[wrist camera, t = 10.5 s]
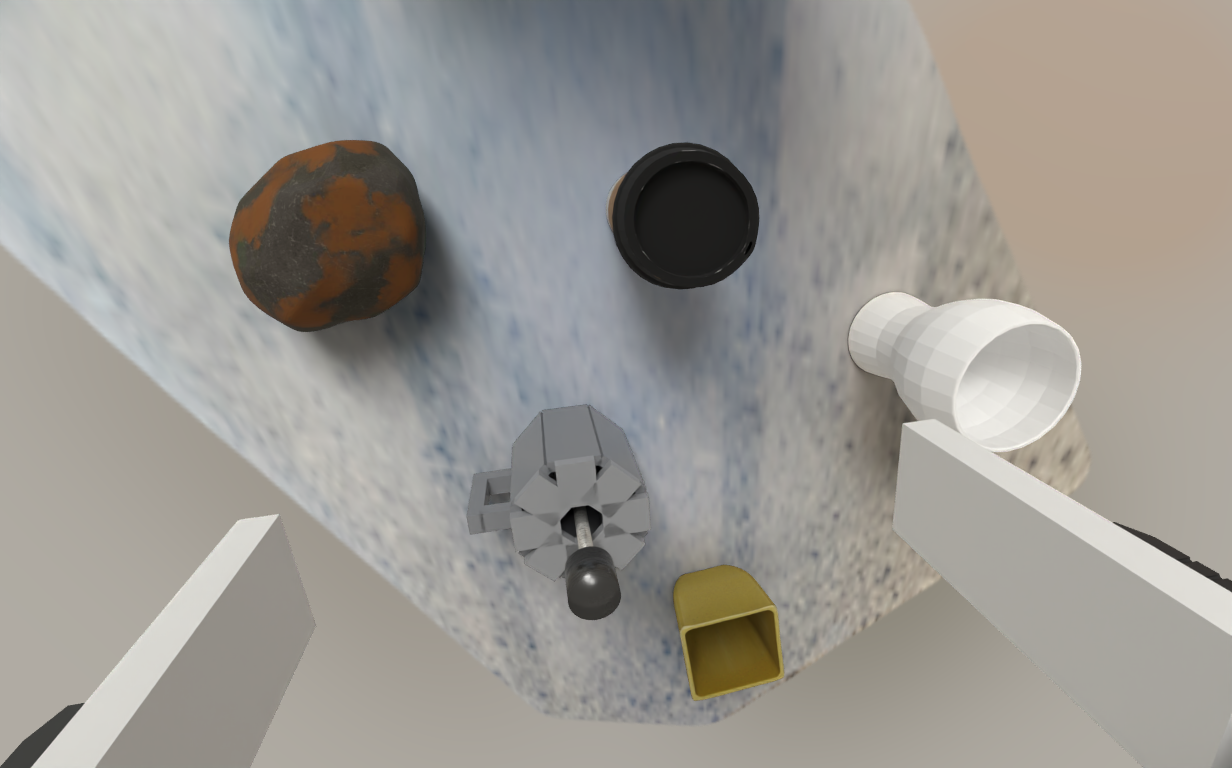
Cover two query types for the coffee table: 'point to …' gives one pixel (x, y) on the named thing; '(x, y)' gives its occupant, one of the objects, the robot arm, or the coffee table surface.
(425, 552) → the coffee table surface
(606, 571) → the plunger
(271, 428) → the coffee table surface
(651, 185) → the coffee cup
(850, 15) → the coffee table surface
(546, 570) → the press carafe
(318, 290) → the rock
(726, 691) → the flower pot
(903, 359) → the cup
